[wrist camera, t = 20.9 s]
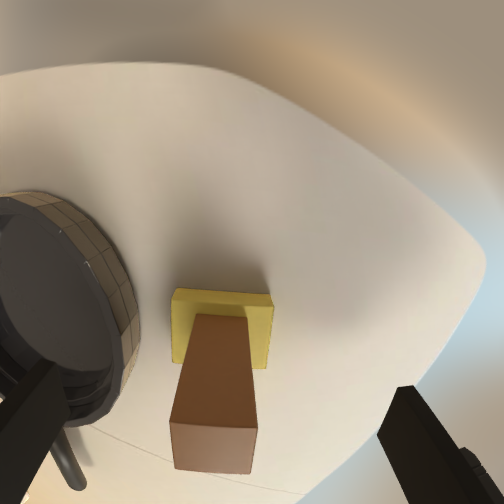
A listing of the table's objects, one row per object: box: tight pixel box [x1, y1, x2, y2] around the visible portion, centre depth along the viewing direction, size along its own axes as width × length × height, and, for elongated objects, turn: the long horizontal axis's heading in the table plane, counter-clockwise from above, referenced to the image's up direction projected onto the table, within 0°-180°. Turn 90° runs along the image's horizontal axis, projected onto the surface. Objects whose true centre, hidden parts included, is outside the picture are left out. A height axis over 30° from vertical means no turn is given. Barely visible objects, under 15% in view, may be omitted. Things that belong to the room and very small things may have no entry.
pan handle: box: [50, 427, 87, 491], centre depth 19 cm, size 2×12×2 cm, turn 175°
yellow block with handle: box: [169, 288, 274, 474], centre depth 15 cm, size 6×4×11 cm
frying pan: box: [0, 192, 140, 428], centre depth 17 cm, size 17×17×4 cm
